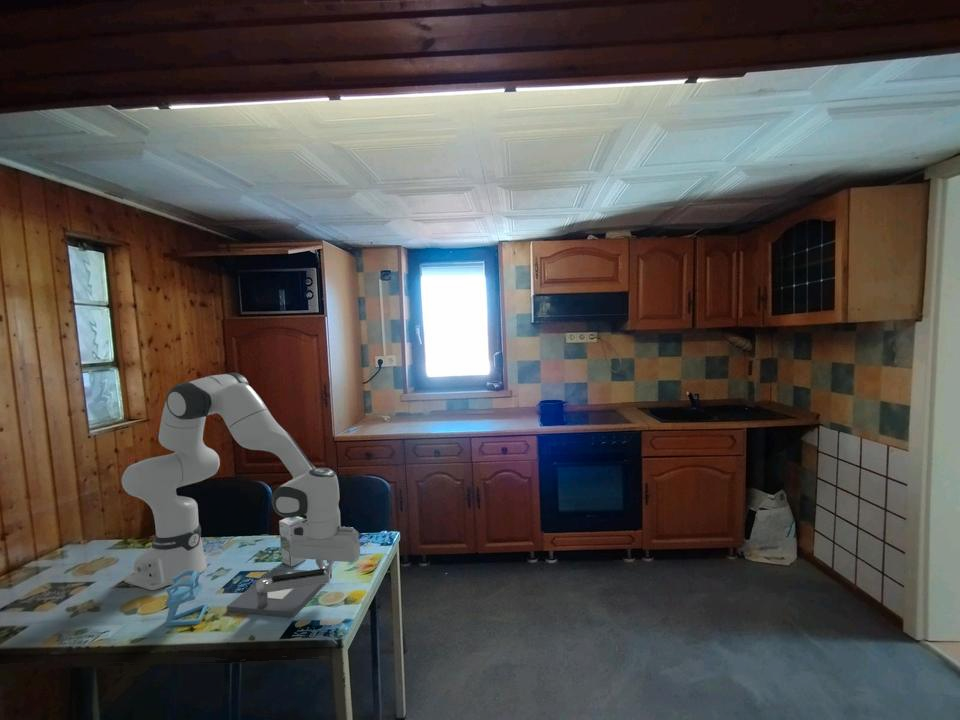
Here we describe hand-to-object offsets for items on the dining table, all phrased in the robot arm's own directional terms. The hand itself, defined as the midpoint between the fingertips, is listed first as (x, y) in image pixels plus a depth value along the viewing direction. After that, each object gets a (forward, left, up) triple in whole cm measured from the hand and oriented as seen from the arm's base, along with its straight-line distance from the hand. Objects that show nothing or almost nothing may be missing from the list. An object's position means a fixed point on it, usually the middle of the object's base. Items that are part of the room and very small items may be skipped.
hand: (326, 573), depth 115 cm
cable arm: (-6, -5, -1) cm, 9 cm away
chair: (-33, -14, -7) cm, 36 cm away
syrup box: (-22, +16, -7) cm, 28 cm away
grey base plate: (-14, -1, -7) cm, 15 cm away
